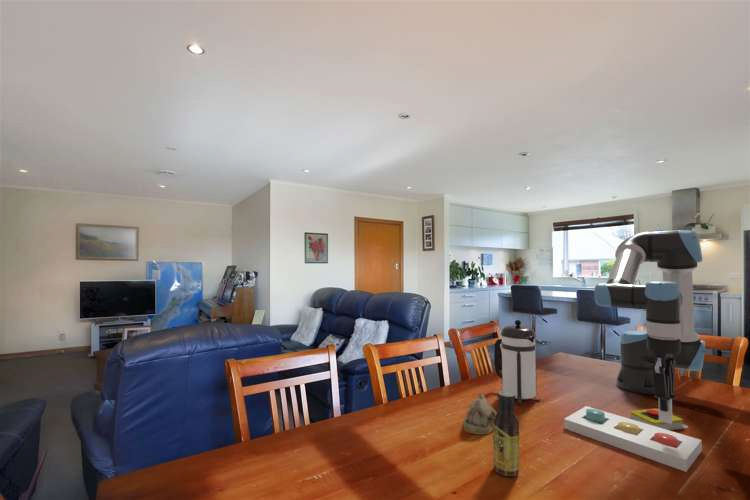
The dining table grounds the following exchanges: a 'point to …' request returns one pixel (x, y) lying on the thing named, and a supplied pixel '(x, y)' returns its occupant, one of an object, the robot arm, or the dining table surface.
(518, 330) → the coffee press
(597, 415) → the teal button
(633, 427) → the ochre button
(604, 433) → the button panel
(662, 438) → the red button
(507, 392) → the sauce bottle
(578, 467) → the dining table surface
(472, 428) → the ceramic model
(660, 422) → the emergency button
